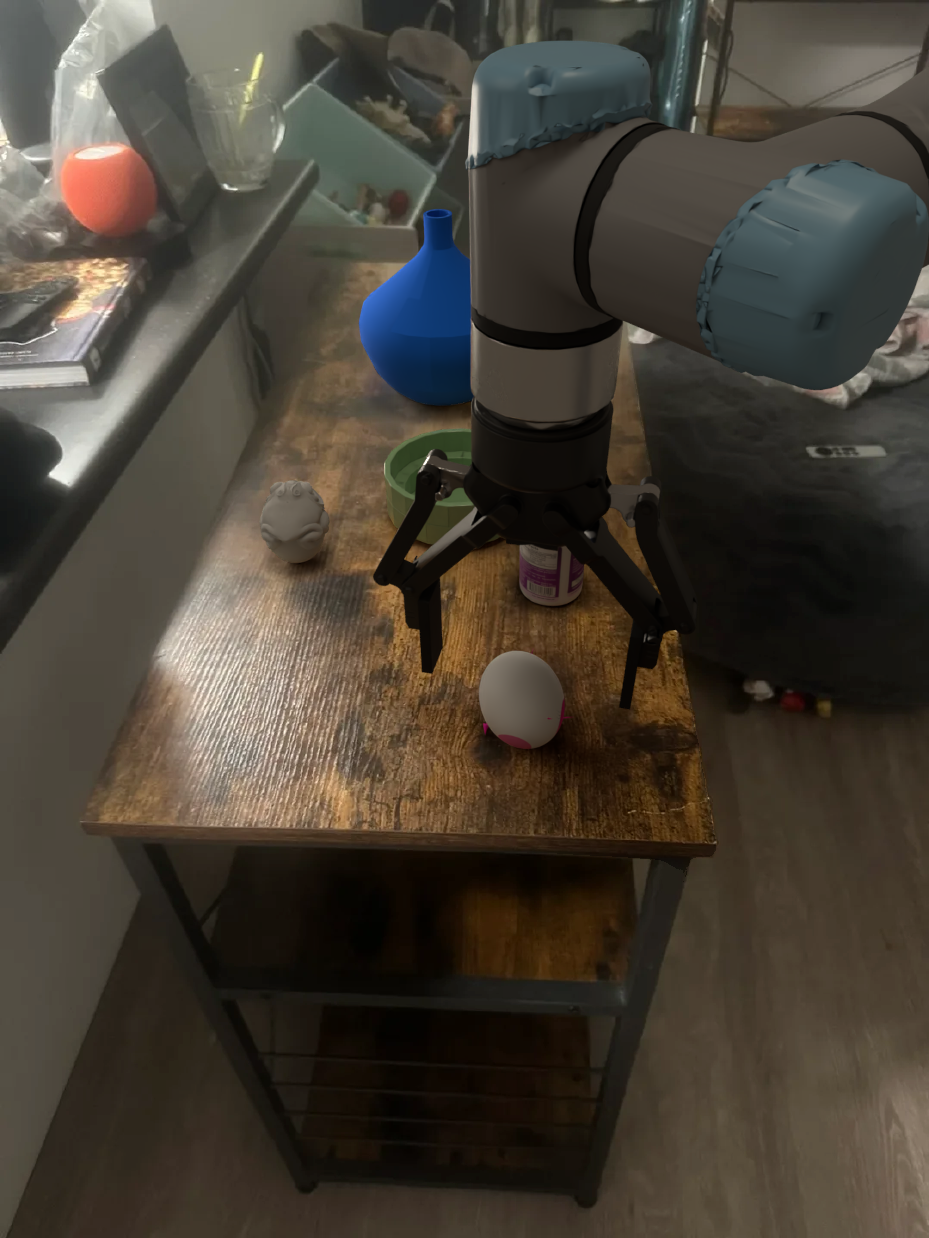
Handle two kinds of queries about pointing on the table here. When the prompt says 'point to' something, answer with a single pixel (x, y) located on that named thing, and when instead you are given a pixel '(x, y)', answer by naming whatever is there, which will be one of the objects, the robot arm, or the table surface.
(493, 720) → the stress ball
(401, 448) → the green bowl
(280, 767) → the table surface
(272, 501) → the frog figurine
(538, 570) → the pill bottle
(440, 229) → the vase
